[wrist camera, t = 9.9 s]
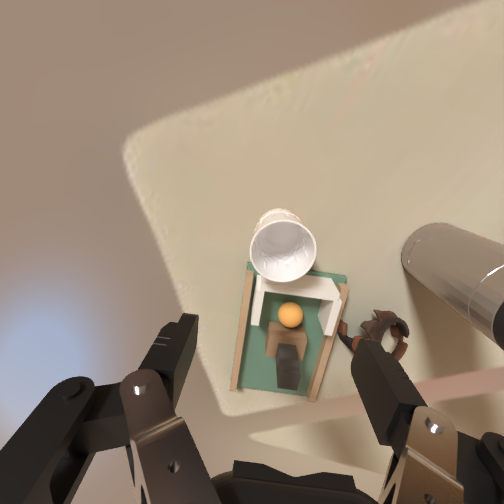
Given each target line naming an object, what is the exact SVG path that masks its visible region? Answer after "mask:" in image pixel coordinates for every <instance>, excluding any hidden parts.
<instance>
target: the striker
mask: <svg viewBox="0 0 504 504" xmlns="http://www.w3.org/2000/svg"><path fill="white" fill-rule="evenodd" d="M306 344H307V337H306V333H305V329H304V325H298V326H296V327H292V328H290V327H286V326H284V325H283V324H282V323H281V322H276V321H269V323H268V328H267V333H266V339H265V350H266V356H270V357H276V374H277V388H281V389H288V390H295V391H297V389H298V386H299V382H300V378H301V372H300V366H299V361H302V360H303V356H304V352H305V348H306Z"/></svg>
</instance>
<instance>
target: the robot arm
mask: <svg viewBox="0 0 504 504" xmlns="http://www.w3.org/2000/svg"><path fill="white" fill-rule="evenodd" d="M401 259H402V264H403V266H404V268H405V270H406V271H407V272H408V273H409V274H410V275H412V276H413V277H414V278H415V279H417V280H418V281H419V282H420V283H422V284H423V285H424V286H425V287H426V288H428V289H429V290H430V291H431V292H432V293H434V294H435V295H436V296H437V297H439V298H440V299H441V300H442V301H444V302H445V303H446V304H447V305H449V306H450V307H451V308H452V309H453V310H455V311H456V312H457V313H458V314H460V315H461V316H462V317H463V318H465V319H466V320H467V321H468V322H469V323H471V324H472V325H473V326H474V327H476V328H477V329H478V330H479V331H481V332H482V333H483V334H485V335H486V336H487V337H488V338H489V339H491V340H492V341H493V342H494V343H496V344H497V345H498V346H499V347H501V348H502V349H503V350H504V245H503V244H500V243H497V242H495V241H492V240H489V239H487V238H484V237H481V236H479V235H476V234H473V233H471V232H468V231H466V230H463V229H460V228H458V227H455V226H452V225H449V224H445V223H433V224H429V225H426V226H424V227H422V228H420V229H419V230H417V231H415V232H414V233H413V234H412V235H411V236H410V237H409V238H408V240H407V241H406V243H405V245H404V247H403V250H402V258H401ZM198 320H199V316H198V315H195V314H188V313H183V314H182V316H181V318H180V320H179V322H178V323H175V322H169V323H168V324H167V325H166V326H164V327H163V328H162V329H161V331H160V332H159V334H158V336H157V338H156V339H155V341H154V343H153V345H152V346H151V348H150V349H149V351H148V353H147V355H146V356H145V358H144V360H143V361H142V363H141V365H140V367H139V368H138V370H136V371H134V372H132V373H130V374H128V375H127V376H126V377H125V378H124V379H123V380H122V382H119V383H115V384H109V385H102V386H94V382H93V381H92V380H91V379H90V378H87V377H81V376H79V377H72V378H69V379H66V380H64V381H62V382H61V383H58V384H57V385H56V386H54V387H53V388H52V389H51V390H50V391H49V392H48V394H47V395H46V396H45V397H44V398H43V400H42V401H41V402H40V403H39V405H38V406H37V407H36V408H35V409H34V411H33V412H32V413H31V414H30V415H29V417H28V418H27V419H26V420H25V421H24V423H23V424H22V425H21V426H20V427H19V429H18V430H17V431H16V432H15V434H14V435H13V436H12V437H11V439H10V440H9V441H8V442H7V443H6V445H5V446H4V447H3V448H2V449H1V450H0V504H70V503H71V501H72V499H73V497H74V495H75V493H76V491H77V489H78V487H79V485H80V483H81V481H82V479H83V477H84V475H85V473H86V471H87V469H88V467H89V465H90V463H91V461H92V459H93V457H94V455H95V453H96V452H99V451H104V450H108V449H113V448H118V447H122V446H124V450H125V454H126V459H127V463H128V468H129V472H130V477H131V482H132V487H133V491H134V496H135V502H136V504H504V436H502V435H499V434H497V433H493V432H487V433H485V434H484V435H483V436H482V438H481V439H480V440H479V439H476V438H474V437H471V436H469V435H466V434H464V433H461V432H459V431H456V429H455V427H454V426H453V424H452V423H451V422H450V421H449V420H448V419H447V418H446V417H445V416H444V415H442V414H441V413H440V412H438V411H436V410H434V409H432V408H430V407H428V406H427V404H426V403H425V401H424V400H423V399H422V397H421V395H420V394H419V392H418V391H417V389H416V387H415V386H414V384H413V383H412V381H411V380H409V377H408V375H407V374H406V372H404V369H403V368H402V366H401V365H400V363H399V362H398V360H397V359H395V358H394V357H393V356H392V355H391V354H390V353H389V352H385V350H384V349H383V347H382V345H381V344H380V342H379V341H378V340H374V339H367V338H360V340H359V342H358V344H357V347H356V350H355V353H354V356H353V359H352V362H351V374H352V377H353V379H354V382H355V384H356V387H357V389H358V392H359V394H360V397H361V399H362V402H363V404H364V406H365V409H366V412H367V414H368V417H369V419H370V422H371V424H372V427H373V429H374V432H375V434H376V437H377V439H378V442H379V444H380V445H386V446H392V449H393V451H394V452H393V454H392V456H391V459H390V462H389V466H388V469H387V473H386V476H385V480H384V483H383V487H382V490H381V494H380V497H379V500H378V502H377V501H375V500H374V499H373V498H371V497H370V496H369V495H367V494H366V493H364V492H362V491H360V490H359V489H356V487H355V483H354V479H353V476H349V475H342V474H335V473H327V472H321V473H316V474H310V475H305V476H300V477H292V476H290V475H287V474H285V473H283V472H280V471H278V470H276V469H273V468H271V467H269V466H267V465H264V464H259V463H251V462H243V461H236V460H234V464H233V470H232V471H229V472H225V473H222V474H219V475H217V476H215V477H213V478H212V479H211V478H210V477H209V474H208V472H207V469H206V467H205V465H204V463H203V460H202V458H201V456H200V454H199V451H198V449H197V447H196V444H195V442H194V440H193V438H192V435H191V433H190V431H189V429H188V426H187V424H186V422H185V420H184V419H183V418H182V417H179V418H178V417H177V415H176V414H175V408H176V405H177V402H178V399H179V397H180V394H181V390H182V388H183V385H184V382H185V379H186V376H187V373H188V370H189V368H190V365H191V362H192V359H193V356H194V353H195V349H196V344H197V334H198Z"/></svg>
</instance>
